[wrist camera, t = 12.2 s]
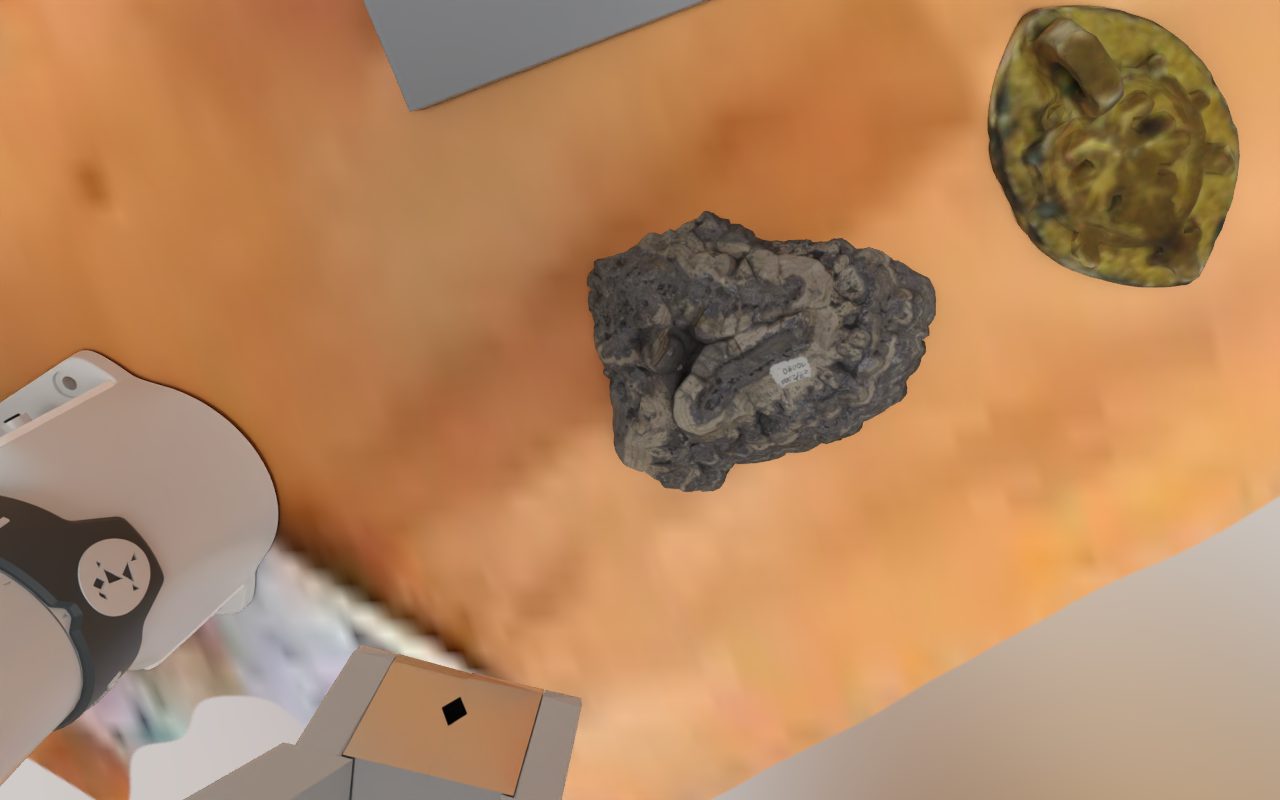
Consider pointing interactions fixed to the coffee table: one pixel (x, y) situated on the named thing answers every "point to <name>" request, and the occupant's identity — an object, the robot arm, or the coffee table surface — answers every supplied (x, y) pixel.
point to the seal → (1112, 145)
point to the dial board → (494, 37)
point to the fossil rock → (749, 346)
